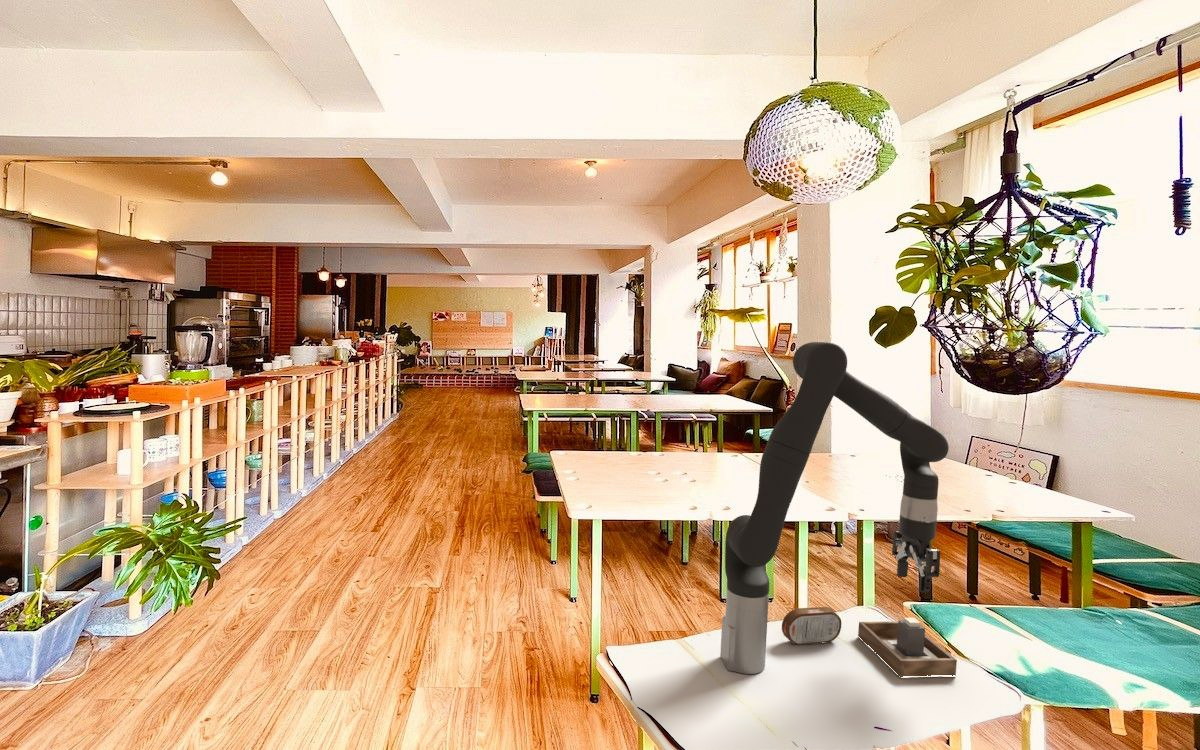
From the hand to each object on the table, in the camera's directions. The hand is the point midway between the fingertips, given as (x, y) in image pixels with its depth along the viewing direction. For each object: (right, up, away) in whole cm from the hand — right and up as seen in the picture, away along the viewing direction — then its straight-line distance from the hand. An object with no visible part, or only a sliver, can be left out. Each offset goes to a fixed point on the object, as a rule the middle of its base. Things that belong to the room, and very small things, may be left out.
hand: (912, 584), depth 140 cm
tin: (-21, -17, +8) cm, 28 cm away
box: (-1, -18, +3) cm, 18 cm away
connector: (0, -17, +1) cm, 17 cm away
